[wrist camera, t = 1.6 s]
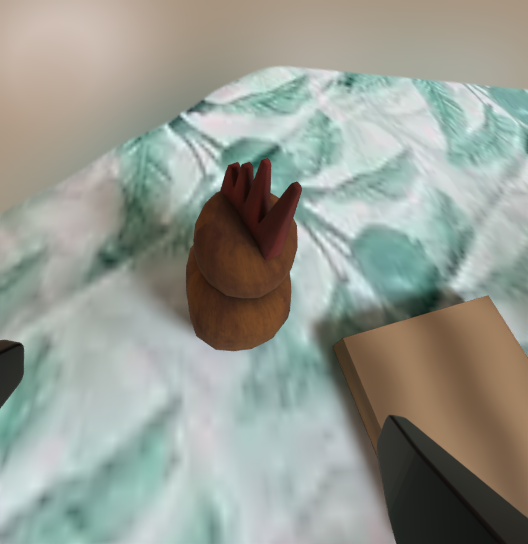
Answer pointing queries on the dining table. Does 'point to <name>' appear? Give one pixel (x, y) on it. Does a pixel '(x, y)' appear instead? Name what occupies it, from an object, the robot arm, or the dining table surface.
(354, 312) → the dining table surface
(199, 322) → the wooden figurine
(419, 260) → the dining table surface
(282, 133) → the dining table surface
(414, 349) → the light brown wooden stand
